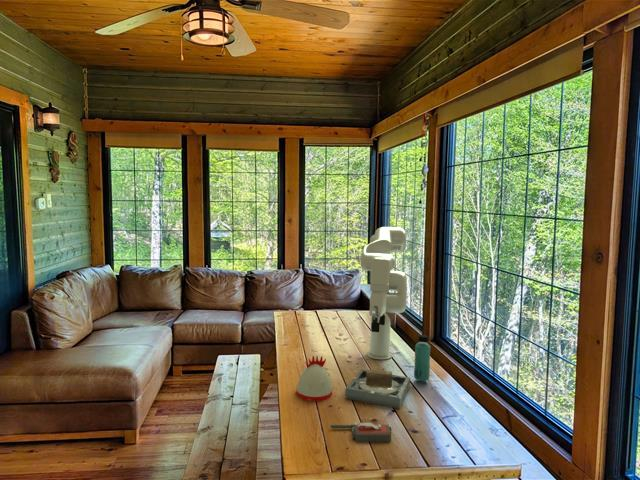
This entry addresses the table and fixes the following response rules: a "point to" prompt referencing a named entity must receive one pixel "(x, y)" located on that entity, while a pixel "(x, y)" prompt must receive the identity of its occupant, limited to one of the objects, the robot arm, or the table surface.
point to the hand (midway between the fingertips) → (378, 328)
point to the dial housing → (374, 397)
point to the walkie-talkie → (368, 432)
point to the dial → (379, 382)
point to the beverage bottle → (422, 359)
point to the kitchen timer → (314, 382)
